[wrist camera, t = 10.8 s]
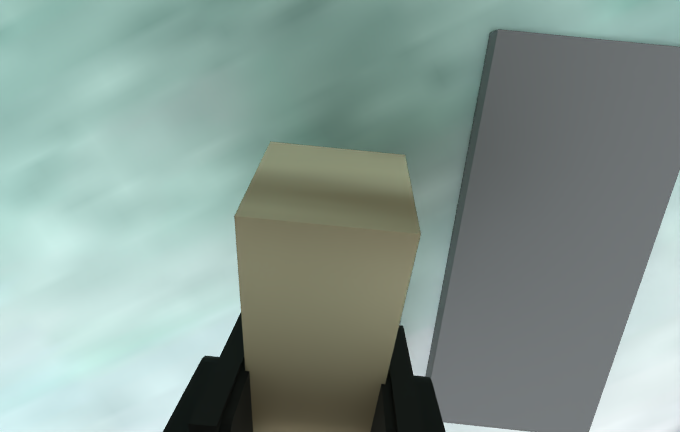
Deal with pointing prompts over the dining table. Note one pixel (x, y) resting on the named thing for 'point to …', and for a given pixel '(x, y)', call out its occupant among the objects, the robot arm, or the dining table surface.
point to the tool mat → (553, 226)
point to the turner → (323, 283)
